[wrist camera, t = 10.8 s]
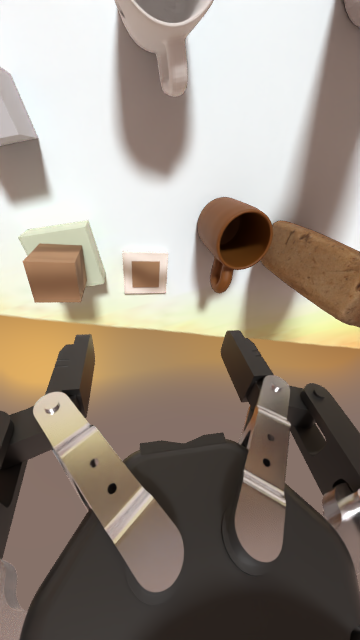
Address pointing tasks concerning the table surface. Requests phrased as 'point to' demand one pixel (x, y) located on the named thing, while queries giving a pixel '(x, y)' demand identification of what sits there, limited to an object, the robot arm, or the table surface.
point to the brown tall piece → (317, 269)
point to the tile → (145, 272)
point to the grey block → (13, 113)
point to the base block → (69, 236)
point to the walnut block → (56, 273)
